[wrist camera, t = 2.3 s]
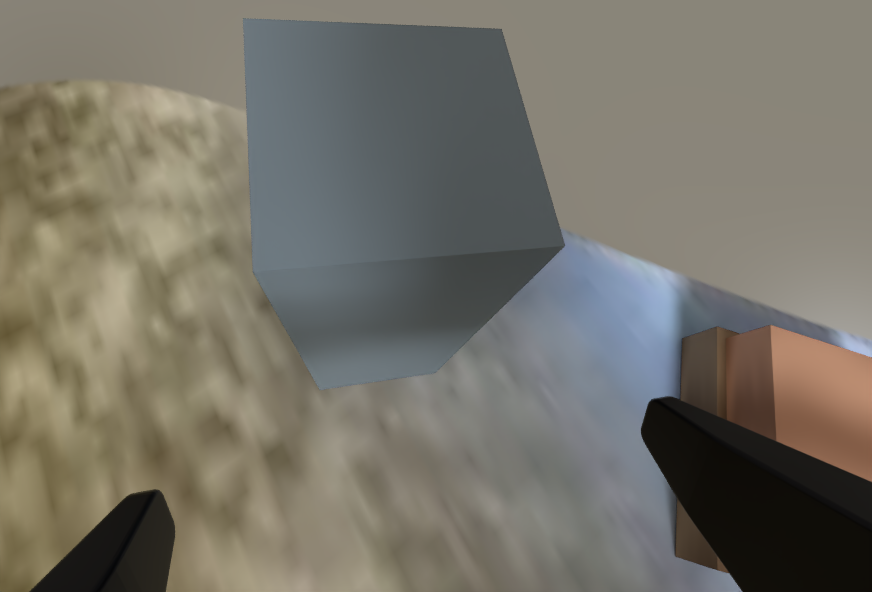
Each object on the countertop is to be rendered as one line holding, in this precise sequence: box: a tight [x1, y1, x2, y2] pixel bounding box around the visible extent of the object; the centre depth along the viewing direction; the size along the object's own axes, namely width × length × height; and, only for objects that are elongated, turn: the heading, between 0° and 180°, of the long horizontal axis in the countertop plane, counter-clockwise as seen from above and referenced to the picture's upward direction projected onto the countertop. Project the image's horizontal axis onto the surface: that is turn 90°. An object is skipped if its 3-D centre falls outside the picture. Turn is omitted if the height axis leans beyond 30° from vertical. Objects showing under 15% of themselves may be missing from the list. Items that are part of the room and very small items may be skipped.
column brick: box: [243, 18, 565, 390], centre depth 15 cm, size 6×6×14 cm
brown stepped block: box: [675, 325, 872, 573], centre depth 20 cm, size 11×11×5 cm
